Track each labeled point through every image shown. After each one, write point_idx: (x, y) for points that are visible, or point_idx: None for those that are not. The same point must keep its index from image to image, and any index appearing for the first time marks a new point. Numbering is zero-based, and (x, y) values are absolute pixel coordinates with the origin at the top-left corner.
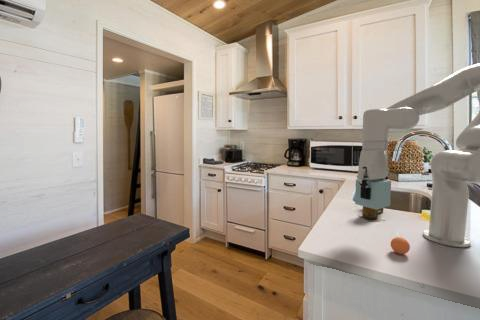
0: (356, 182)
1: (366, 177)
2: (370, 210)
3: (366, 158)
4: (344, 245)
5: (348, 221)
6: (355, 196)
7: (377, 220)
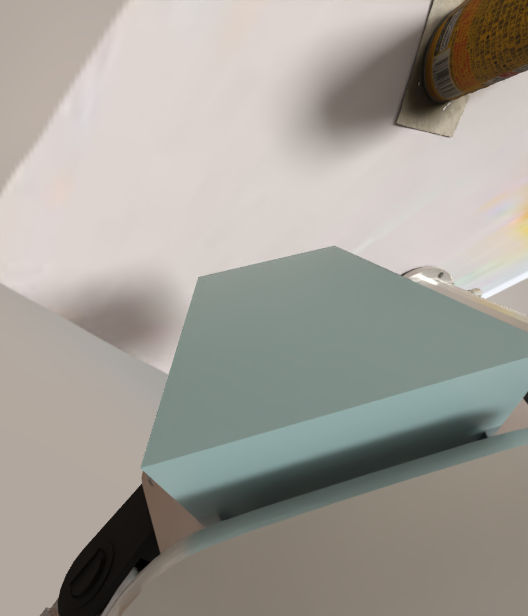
0: (165, 416)
1: (376, 476)
2: (468, 65)
3: None
4: (145, 270)
5: (317, 59)
6: (192, 300)
7: (430, 120)
